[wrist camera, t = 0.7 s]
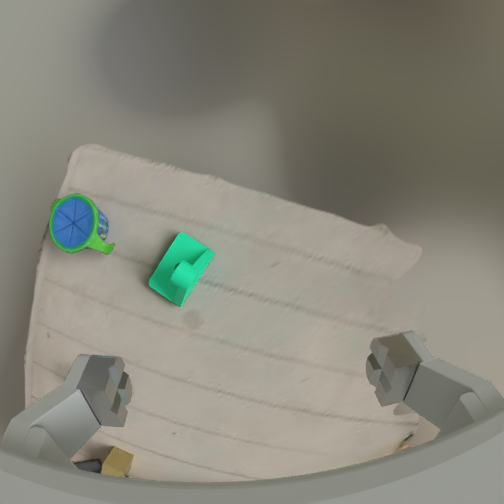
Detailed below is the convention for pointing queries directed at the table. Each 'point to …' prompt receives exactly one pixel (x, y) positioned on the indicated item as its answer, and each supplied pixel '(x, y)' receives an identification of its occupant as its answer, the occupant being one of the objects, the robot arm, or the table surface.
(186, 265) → the camera mount
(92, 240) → the snack cup
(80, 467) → the shaft stand
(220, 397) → the table surface
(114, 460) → the block
